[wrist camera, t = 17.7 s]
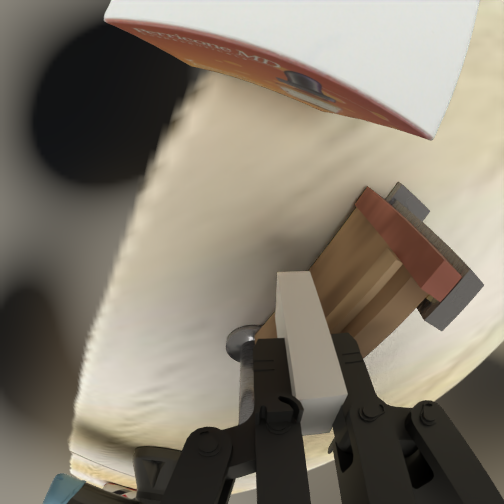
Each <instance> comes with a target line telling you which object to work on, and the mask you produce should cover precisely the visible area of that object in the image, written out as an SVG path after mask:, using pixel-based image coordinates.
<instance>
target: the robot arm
mask: <svg viewBox="0 0 504 504" xmlns="http://www.w3.org/2000/svg"><path fill="white" fill-rule="evenodd" d="M275 321H276V329H277V338H266V339H258V340H257V342H256V344H255V346H254V348H253V381H254V411H253V413H252V415H251V416H250V417H249V419H248V420H247V421H245V422H244V423H242V424H240V425H238V426H235V427H231V428H228V429H224V430H220V429H218V428H215V427H203V428H199V429H197V430H195V431H194V432H192V433H191V434H190V436H189V437H188V438H187V440H186V442H185V445H184V447H183V450H182V452H180V451H176V450H170V449H164V448H156V447H140V448H136V449H135V451H134V455H133V466H134V472H135V478H136V483H137V493H136V498H135V500H134V499H130V498H128V497H124V496H121V495H118V494H115V493H112V492H109V491H107V490H104V489H101V488H98V487H96V486H93V485H91V484H89V483H86V481H85V480H79V479H77V478H74V477H72V476H70V475H67V474H58V475H56V477H55V478H54V480H53V482H52V484H51V486H50V488H49V490H48V492H47V495H46V497H45V499H44V501H43V504H228V501H229V498H230V495H231V492H232V489H233V485H234V482H235V479H236V478H238V477H242V476H245V475H248V474H251V473H254V472H256V484H257V504H311V501H310V492H309V484H308V477H307V468H306V460H305V452H304V445H303V437H302V436H304V435H313V434H322V433H329V432H330V431H331V429H332V427H333V431H334V435H335V437H334V439H333V441H332V443H331V444H330V446H329V448H328V454H329V453H331V452H332V451H333V453H334V459H335V464H336V470H337V476H338V481H339V488H340V494H341V500H342V504H504V500H503V498H502V497H501V495H500V493H499V492H498V490H497V488H496V487H495V485H494V483H493V482H492V480H491V479H490V477H489V475H488V474H487V472H486V471H485V469H484V468H483V466H482V465H481V463H480V462H479V460H478V459H477V457H476V456H475V454H474V453H473V451H472V450H471V448H470V447H469V445H468V444H467V443H466V441H465V440H464V438H463V437H462V435H461V434H460V433H459V431H458V430H457V428H456V427H455V425H454V424H453V422H452V421H451V420H450V418H449V417H448V416H447V414H446V413H445V412H444V410H443V409H442V407H440V406H439V405H438V404H437V403H435V402H433V401H428V400H424V401H421V402H419V403H417V404H416V405H415V406H414V407H413V408H404V407H394V406H390V405H387V404H386V403H385V402H384V401H382V400H381V399H380V398H378V397H377V395H376V393H375V391H374V388H373V385H372V382H371V379H370V376H369V374H368V371H367V368H366V365H365V362H364V360H363V357H362V354H361V353H360V349H359V346H358V344H357V341H356V340H355V339H354V338H353V337H352V336H351V335H350V334H349V333H337V334H330V332H329V328H328V325H327V322H326V319H325V316H324V312H323V309H322V306H321V303H320V300H319V297H318V294H317V291H316V288H315V285H314V282H313V279H312V276H311V273H310V271H297V272H277V286H276V309H275Z"/></svg>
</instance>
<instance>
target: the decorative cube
mask: <svg viewBox="0 0 504 504" xmlns="http://www.w3.org/2000/svg"><path fill="white" fill-rule="evenodd" d="M103 489H104V490H107V491H109V492H112V493H115V494H118V495H121V496H124V497H128V498H130V499H134V500H135V498H136V493H137V490H134V489H130V488H127V487H123V486H120V485H117V484H112V483H107V484H105V485H104V487H103Z"/></svg>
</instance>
